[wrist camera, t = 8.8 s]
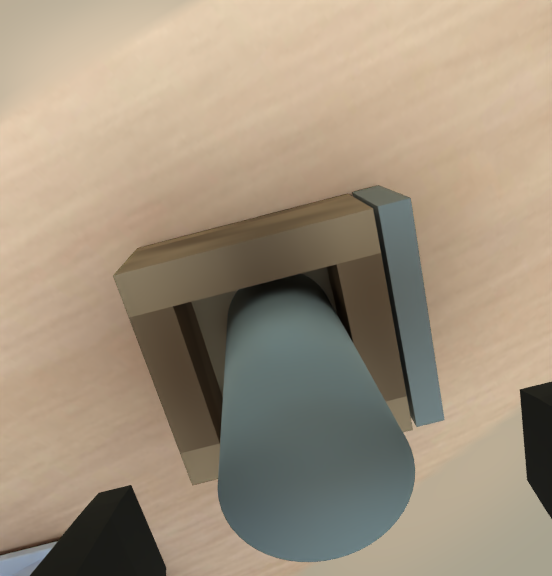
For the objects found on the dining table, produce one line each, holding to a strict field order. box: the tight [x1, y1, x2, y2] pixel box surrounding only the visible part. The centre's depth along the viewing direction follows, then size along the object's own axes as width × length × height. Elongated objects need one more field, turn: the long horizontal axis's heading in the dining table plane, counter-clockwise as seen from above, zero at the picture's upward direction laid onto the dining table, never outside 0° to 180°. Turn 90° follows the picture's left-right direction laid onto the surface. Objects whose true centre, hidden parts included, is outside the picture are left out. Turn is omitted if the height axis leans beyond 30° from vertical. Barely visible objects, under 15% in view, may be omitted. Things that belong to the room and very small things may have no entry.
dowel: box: [218, 273, 415, 562], centre depth 14 cm, size 4×4×9 cm
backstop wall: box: [352, 185, 444, 427], centre depth 17 cm, size 1×8×4 cm, turn 15°
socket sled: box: [113, 194, 413, 485], centre depth 17 cm, size 8×8×4 cm
